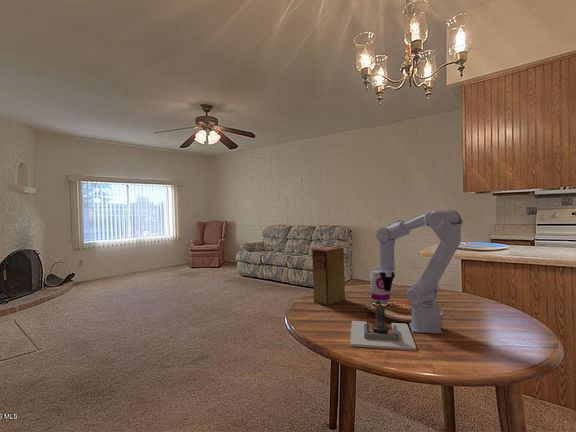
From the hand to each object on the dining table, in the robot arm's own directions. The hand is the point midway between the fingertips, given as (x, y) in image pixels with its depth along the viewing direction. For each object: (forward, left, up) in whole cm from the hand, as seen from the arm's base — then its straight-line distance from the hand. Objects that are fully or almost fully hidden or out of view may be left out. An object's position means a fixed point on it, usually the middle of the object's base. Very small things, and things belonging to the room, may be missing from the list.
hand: (387, 290), depth 126 cm
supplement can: (+2, -15, -11) cm, 18 cm away
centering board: (+4, +19, -10) cm, 22 cm away
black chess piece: (+4, +21, -11) cm, 24 cm away
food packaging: (+25, -17, -11) cm, 32 cm away
